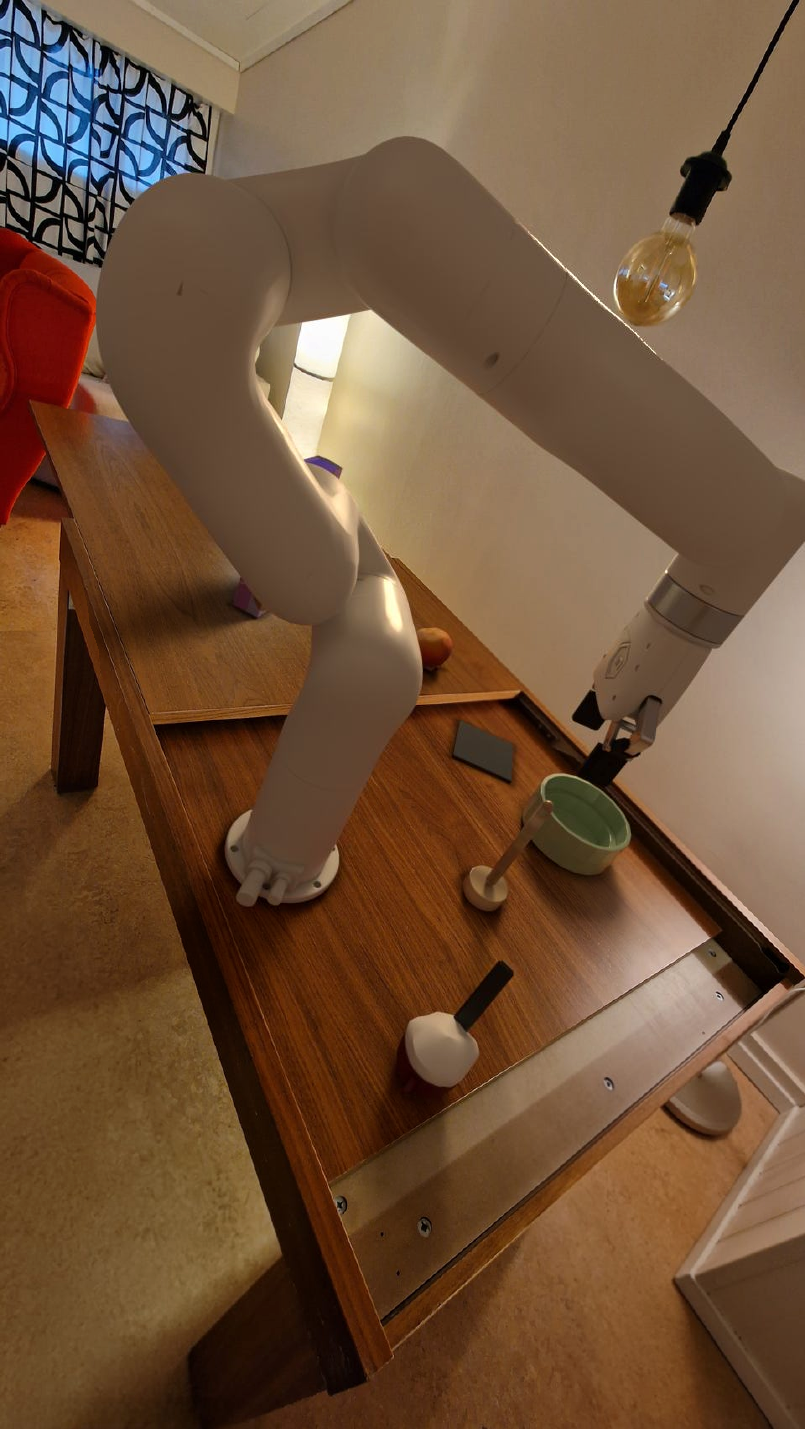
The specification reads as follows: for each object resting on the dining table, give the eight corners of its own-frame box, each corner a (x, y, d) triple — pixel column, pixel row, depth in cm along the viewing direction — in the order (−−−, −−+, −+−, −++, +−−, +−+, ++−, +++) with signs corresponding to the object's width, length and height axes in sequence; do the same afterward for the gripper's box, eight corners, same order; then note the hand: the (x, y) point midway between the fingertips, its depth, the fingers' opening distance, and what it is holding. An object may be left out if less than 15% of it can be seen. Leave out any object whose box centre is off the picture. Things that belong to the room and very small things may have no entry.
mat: (510, 782, 97) (511, 780, 96) (452, 756, 96) (453, 754, 96) (512, 746, 105) (513, 744, 105) (458, 721, 104) (459, 719, 104)
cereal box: (257, 618, 104) (298, 482, 91) (232, 605, 104) (270, 467, 91) (302, 588, 119) (343, 467, 106) (280, 576, 119) (318, 454, 106)
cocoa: (396, 1124, 52) (457, 1061, 46) (365, 1050, 56) (418, 981, 49) (480, 1083, 58) (545, 1022, 51) (447, 1018, 62) (504, 953, 55)
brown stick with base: (499, 918, 74) (573, 828, 65) (460, 900, 74) (528, 808, 65) (501, 885, 79) (571, 796, 70) (464, 869, 78) (529, 777, 69)
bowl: (611, 893, 86) (637, 866, 83) (519, 851, 85) (541, 823, 82) (602, 824, 98) (624, 798, 94) (521, 787, 97) (540, 760, 93)
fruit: (441, 679, 110) (439, 634, 107) (402, 675, 114) (399, 633, 111) (460, 666, 116) (458, 624, 114) (423, 663, 120) (420, 622, 117)
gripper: (639, 559, 61) (551, 693, 71) (672, 634, 47) (557, 789, 56) (706, 591, 62) (610, 720, 71) (760, 674, 47) (631, 821, 57)
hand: (587, 750), depth 64 cm, fingers open, 9 cm apart
